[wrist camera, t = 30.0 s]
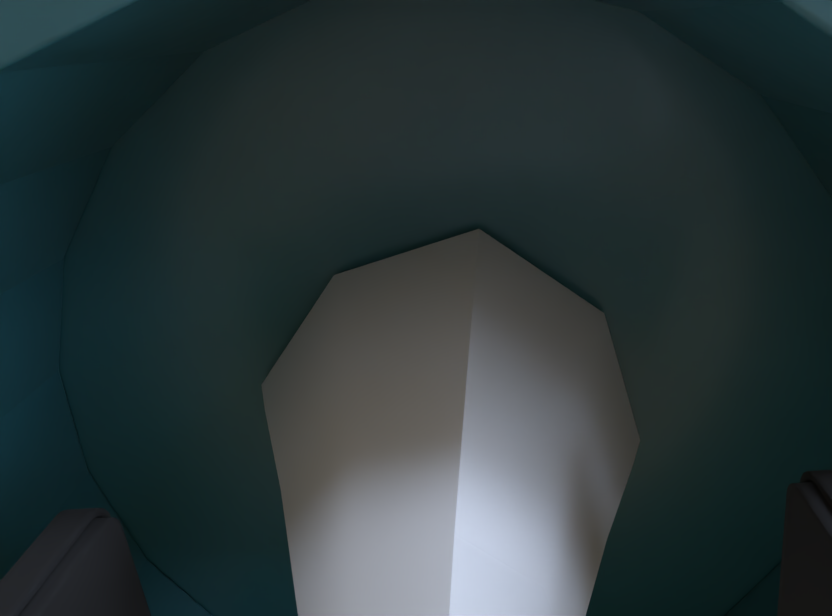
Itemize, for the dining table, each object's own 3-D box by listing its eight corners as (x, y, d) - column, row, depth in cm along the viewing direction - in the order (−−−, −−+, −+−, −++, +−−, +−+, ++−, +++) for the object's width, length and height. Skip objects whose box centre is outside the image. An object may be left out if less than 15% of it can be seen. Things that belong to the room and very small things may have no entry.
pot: (55, -189, 12) (-378, -408, 6) (1081, 71, 12) (1680, 118, 6) (27, 609, 18) (-190, 894, 12) (694, 766, 19) (798, 1120, 13)
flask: (490, 155, 13) (529, 497, 4) (700, 441, 15) (1087, 1161, 5) (203, 369, 15) (-239, 939, 6) (419, 598, 17) (350, 1314, 7)
